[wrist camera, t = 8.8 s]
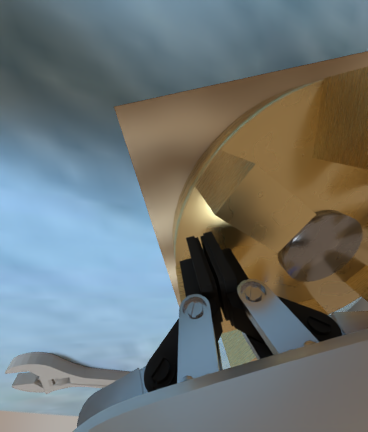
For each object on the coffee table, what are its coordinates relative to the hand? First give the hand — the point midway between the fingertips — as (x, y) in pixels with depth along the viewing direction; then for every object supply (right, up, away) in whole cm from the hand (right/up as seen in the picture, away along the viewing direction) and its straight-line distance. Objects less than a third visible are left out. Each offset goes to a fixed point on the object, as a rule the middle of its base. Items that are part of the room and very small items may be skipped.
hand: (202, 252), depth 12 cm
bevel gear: (+9, +1, +5) cm, 10 cm away
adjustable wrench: (-12, -20, +15) cm, 28 cm away
